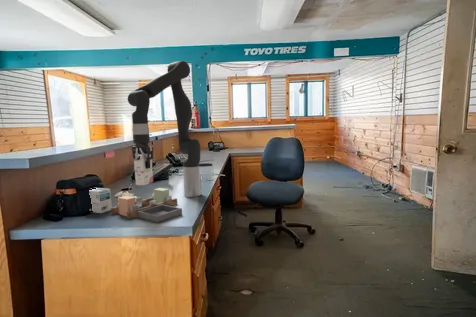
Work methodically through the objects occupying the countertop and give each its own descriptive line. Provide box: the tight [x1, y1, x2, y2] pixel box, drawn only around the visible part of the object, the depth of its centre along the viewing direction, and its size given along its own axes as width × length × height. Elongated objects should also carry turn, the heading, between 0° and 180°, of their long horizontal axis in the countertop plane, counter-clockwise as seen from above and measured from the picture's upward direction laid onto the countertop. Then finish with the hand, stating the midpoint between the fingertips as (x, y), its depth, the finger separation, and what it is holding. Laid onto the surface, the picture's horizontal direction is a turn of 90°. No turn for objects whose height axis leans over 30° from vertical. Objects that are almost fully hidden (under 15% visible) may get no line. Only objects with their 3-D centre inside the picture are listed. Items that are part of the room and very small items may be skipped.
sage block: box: [153, 187, 170, 204], centre depth 147 cm, size 4×7×8 cm, turn 54°
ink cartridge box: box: [133, 154, 154, 186], centre depth 138 cm, size 9×5×15 cm, turn 168°
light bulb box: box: [89, 187, 113, 214], centre depth 139 cm, size 11×7×11 cm, turn 65°
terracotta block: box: [118, 195, 136, 217], centre depth 131 cm, size 4×7×8 cm, turn 54°
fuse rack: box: [110, 193, 178, 220], centre depth 139 cm, size 28×14×5 cm, turn 144°
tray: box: [137, 204, 183, 224], centre depth 127 cm, size 14×14×3 cm
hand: (143, 167), depth 138 cm, fingers closed on ink cartridge box, 6 cm apart
